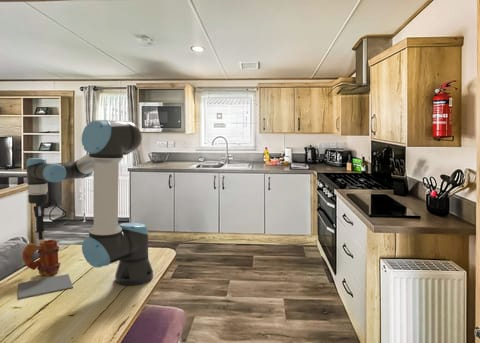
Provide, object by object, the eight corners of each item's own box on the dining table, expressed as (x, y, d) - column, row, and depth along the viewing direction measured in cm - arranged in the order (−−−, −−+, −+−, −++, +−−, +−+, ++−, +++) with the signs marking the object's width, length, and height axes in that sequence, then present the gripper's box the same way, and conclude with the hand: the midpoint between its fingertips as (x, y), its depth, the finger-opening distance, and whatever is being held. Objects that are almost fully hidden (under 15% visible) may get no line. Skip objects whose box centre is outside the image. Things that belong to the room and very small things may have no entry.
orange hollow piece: (55, 268, 157) (54, 235, 156) (65, 272, 153) (63, 238, 151) (20, 278, 145) (18, 243, 144) (29, 283, 141) (27, 247, 139)
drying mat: (73, 288, 137) (72, 286, 137) (18, 299, 127) (18, 297, 127) (68, 275, 150) (68, 273, 149) (18, 284, 140) (18, 283, 140)
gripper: (27, 192, 157) (30, 243, 159) (28, 196, 146) (31, 251, 148) (46, 190, 161) (49, 241, 163) (48, 194, 150) (51, 248, 152)
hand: (41, 246), depth 156 cm, fingers closed
